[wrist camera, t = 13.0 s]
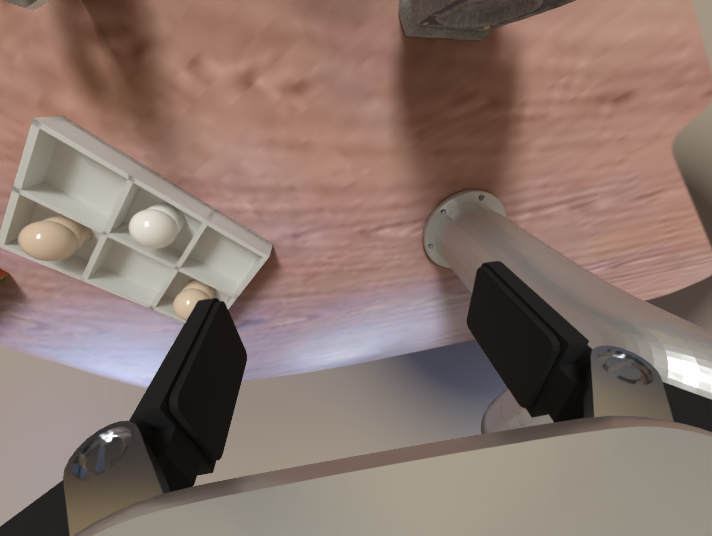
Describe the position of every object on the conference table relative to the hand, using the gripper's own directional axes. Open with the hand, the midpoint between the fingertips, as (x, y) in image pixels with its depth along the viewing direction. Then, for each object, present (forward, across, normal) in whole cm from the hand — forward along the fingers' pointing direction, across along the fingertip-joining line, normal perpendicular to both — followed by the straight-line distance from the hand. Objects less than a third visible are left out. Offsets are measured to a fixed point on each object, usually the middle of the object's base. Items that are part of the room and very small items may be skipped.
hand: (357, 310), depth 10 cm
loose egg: (+28, +21, +5) cm, 35 cm away
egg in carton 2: (+28, +21, +16) cm, 39 cm away
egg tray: (+28, +24, +8) cm, 38 cm away
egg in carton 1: (+28, +33, +5) cm, 43 cm away
